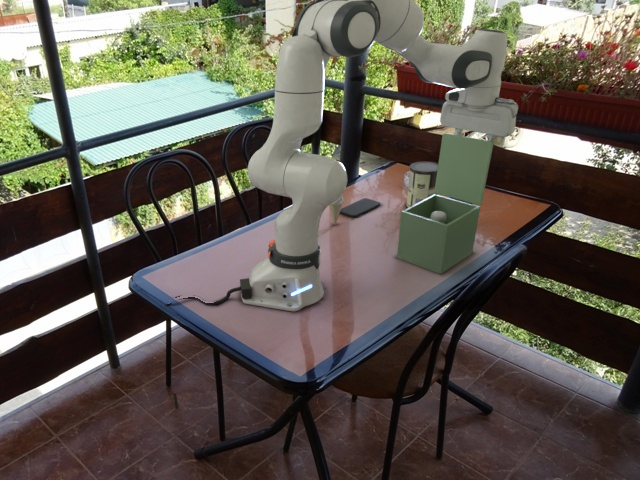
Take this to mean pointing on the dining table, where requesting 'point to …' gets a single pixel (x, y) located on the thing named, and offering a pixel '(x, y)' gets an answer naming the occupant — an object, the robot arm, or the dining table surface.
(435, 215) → the salt shaker
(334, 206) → the ice cream cone
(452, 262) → the box
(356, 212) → the phone
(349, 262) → the dining table surface
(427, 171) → the coffee can
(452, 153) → the lid
